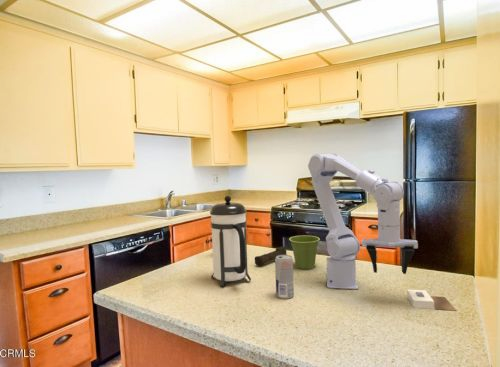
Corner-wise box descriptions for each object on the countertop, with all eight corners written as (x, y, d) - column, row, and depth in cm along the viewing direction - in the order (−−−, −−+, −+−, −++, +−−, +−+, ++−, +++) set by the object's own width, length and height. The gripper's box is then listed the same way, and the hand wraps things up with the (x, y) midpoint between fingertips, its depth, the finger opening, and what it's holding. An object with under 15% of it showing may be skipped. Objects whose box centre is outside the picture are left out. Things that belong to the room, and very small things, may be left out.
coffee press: (199, 285, 110) (195, 197, 109) (223, 271, 125) (220, 194, 123) (245, 292, 103) (241, 198, 101) (264, 276, 117) (262, 194, 116)
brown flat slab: (435, 309, 86) (435, 308, 86) (425, 296, 95) (425, 295, 95) (456, 310, 85) (456, 310, 85) (444, 297, 94) (444, 296, 94)
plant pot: (284, 265, 130) (283, 237, 130) (308, 261, 135) (308, 234, 135) (300, 273, 119) (300, 243, 119) (326, 268, 124) (326, 239, 124)
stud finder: (413, 308, 88) (413, 298, 88) (407, 297, 96) (407, 288, 95) (434, 310, 87) (434, 300, 86) (425, 298, 94) (425, 289, 94)
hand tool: (261, 266, 127) (260, 255, 127) (254, 265, 130) (253, 254, 130) (291, 256, 141) (290, 246, 141) (284, 255, 144) (283, 245, 144)
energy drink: (283, 291, 103) (282, 253, 102) (297, 295, 99) (296, 256, 98) (272, 296, 99) (271, 257, 99) (286, 300, 95) (285, 260, 95)
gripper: (363, 227, 90) (364, 275, 90) (420, 227, 86) (421, 278, 87) (360, 222, 97) (361, 267, 97) (413, 223, 93) (414, 269, 94)
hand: (389, 272), depth 93 cm, fingers open, 7 cm apart
